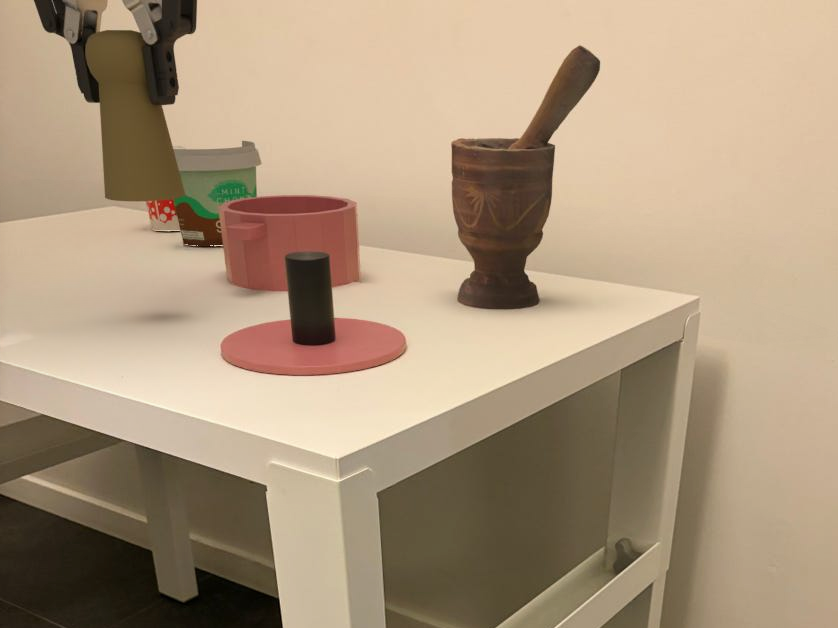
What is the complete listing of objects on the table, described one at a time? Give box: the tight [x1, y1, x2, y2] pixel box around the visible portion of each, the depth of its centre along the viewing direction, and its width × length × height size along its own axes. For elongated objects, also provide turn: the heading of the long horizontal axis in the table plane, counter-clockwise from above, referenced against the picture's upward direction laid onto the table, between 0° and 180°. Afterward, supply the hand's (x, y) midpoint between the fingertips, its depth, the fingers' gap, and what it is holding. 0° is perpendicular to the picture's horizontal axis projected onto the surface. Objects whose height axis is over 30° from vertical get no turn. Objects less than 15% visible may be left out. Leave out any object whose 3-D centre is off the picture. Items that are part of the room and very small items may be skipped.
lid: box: [220, 251, 407, 376], centre depth 72 cm, size 14×14×7 cm
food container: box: [173, 140, 263, 246], centre depth 111 cm, size 12×6×10 cm, turn 143°
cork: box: [85, 29, 185, 203], centre depth 74 cm, size 6×6×11 cm
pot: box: [218, 194, 361, 292], centre depth 94 cm, size 13×18×7 cm
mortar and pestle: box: [451, 44, 601, 311], centre depth 83 cm, size 12×9×20 cm
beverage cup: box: [145, 144, 187, 230], centre depth 117 cm, size 6×6×14 cm
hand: (130, 102), depth 73 cm, fingers closed on cork, 5 cm apart
